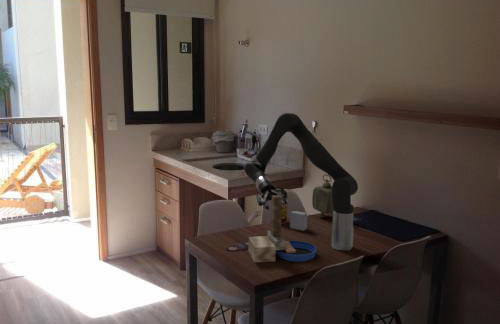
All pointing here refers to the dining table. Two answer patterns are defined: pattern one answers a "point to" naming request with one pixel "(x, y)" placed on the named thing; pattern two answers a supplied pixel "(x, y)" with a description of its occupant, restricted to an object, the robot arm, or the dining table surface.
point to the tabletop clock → (323, 198)
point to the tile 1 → (290, 250)
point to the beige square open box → (263, 249)
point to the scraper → (276, 222)
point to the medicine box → (298, 220)
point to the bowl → (299, 252)
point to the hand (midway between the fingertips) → (276, 205)
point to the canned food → (284, 213)
